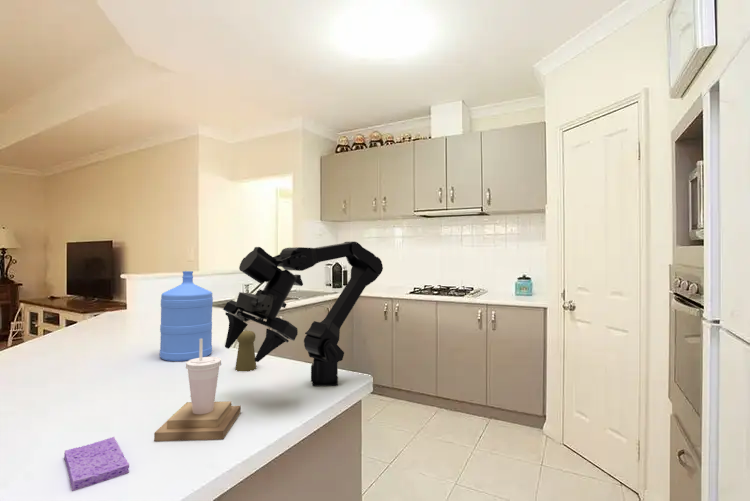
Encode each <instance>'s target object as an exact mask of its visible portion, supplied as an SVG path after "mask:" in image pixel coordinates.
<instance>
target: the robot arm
mask: <svg viewBox="0 0 750 501" xmlns="http://www.w3.org/2000/svg"><path fill="white" fill-rule="evenodd" d="M342 258H345V259H346V261H347V263H348V264H349V265H350V267H351V268H350V278H349V281H348V282H347V284H346V285H345V287H344V288H343V290H342V291H341V292H340V294H339V296H338V297H337V299H336V301H334V303H333V305H332V307H331V308H330V310H329V311H328V313H327V314H326V316H325V317H324V319H323V320H321V321H315V320H314V321H313V322H312V323H311V325H310V327H309V328H308V330H307V331H306V332H305V333H304V335H305V336H304V338H303V344H304V349H305V350H306V351H307V353H308V356H309V358H312V359H313V361H312V364H311V366H310V382H312V383H311V384H312V386H313V387H329V386H330V387H334V386H339V376H338V373H339V372H338V367H339V366H338V365H339V364H338V363H339V362H342V361H343V359H344V356H345V351H344V350H343V349H342V348H341V347H340V346H339V345H338V343H339V341H340V337H341V336H340V334H341V328H342V326H343V324H344V322H345V321H346V319H347V318H348V317H349V314H350V313H351V311H352V310H353V308H354V306H356V303H357V301H358V299H359V298H360V297H361V295H362V293H363V291H364V290H365V289H366V287H367V286H369V285H370V284H372V283H373V282H375V281H376V280H377V279H378V277H379V276H380V275H381V274H382V272H383V270H384V267H383V263H382V260H381V258H379V256H376V255H375V254H374V253H373V252H372V251H369V250H368V249H366V248H364V247H363V246H362V245H361V244H360V243H359V242H357V241H344V242H341V243H336V244H335V243H334V244H330V245H324V246H319V247H318V246H317V247H298V246H297V247H295V246H294V247H284V248H283V249H281V251H280V253H279V254H277V255H274V256H272V255H270V254H269V253H268V252H266V251H265V249H264V248H262V247H261V246H255V247H254V248H253V250H251V251H250V252H249V253H248V254H247V255H246V256H245V257H243V258H242V260H241V261H240V263H239V266H238V269H239V271H240V272H242V273H243V274H245V276H246V275H247V276H248V277H249V278H251V279H252V280H254V281H256V282H257V283H259V284H263V283H265V282H266V284H265V286H264V288H263V289H261V288H260V289H258V290H257V291H256V293H249V292H241V291H240V292H239V293H238V296H237V299H236V301H235V300H229V301H227V302H226V304H225V305H224V307H223V309H222V310H223V311H224V312H225V316H226V317H227V319H228V329H227V334H226V340H225V344H224V347H225V349H228V350H229V349H230V348H231V347H232V346H233V345H234V343H235V342H236V341H237V338H238V337H239V336H240V334H241V333H242V332H243V331H245V329H246V328H247V326H248V325H249V324H248V323H246V322H249V321H252V322H254V323H256V324H260V325H262V326H265V327H267V328H266V330H265V331H266V333H265V338H264V340H263V342H262V343H261V345H260V347H259V349H258V351H257V353H256V354H255V361H256V363H259V362H260V361H261V360H262V359H264V358H265V357H267V356H268V355H269V354H270V353H271V352H273V351H274V350H275V349H276V348H278V347H279V346H281V345H282V344H284V343H289V340H291V341H293V342H294V341H295V340H296V338H297V336H298V335H299V334H298V332H299V331H298V327H296V326H295V325H294V324H292V323H291V322H290V321H288V320H285V319H283V318H281V317H278V315H279V312H280V311H281V309H282V308H283V309H286V307H287V305H288V303H286V302H285V301H286V300H287V298H288V296H289V295H290V292H291V290H292V289H293V287H294V286H299V287H302V286H303V285H304V283H303V280H302V277H301V274H294V273H292V272H291V271H295V272H297V271H299V272H300V271H301V272H302V271H305V270H308V269H310V268H313V267H314V266H316V265H317V264H319V263H321V262H326V261H327V262H328V261H331V260H337V259H342ZM281 268H282V269H283V270H282V269H281Z"/></svg>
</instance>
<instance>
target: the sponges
mask: <svg viewBox="0 0 750 501" xmlns="http://www.w3.org/2000/svg"><path fill="white" fill-rule="evenodd" d="M63 457H64V460H65V465H66V468H67V472H68V476H69V482H70V486H71V487H70V488H71V491H72V492H74V491H78V490H80V489H83V488H86V487H90V486H92V485H95V484H98V483H101V482H104V481H107V480H108V481H109V480H110V479H114V478H117V477H120V476H122V475H125V474H128V473H129V472H130V470H129V469H130V463H129V462H128V459H127V458H126V457H125V455H124V452H123V451H122V449H121V447H120V445H119V443H118V442H117V439H116V438H115V436H112V437H108V438H107V439H102V440H100V441H99V440H98V441H96V442H93V443H90V444H86V445H81V446H79V447H73V448H69V449H66V450H64V455H63Z"/></svg>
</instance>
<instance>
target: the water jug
mask: <svg viewBox="0 0 750 501" xmlns="http://www.w3.org/2000/svg"><path fill="white" fill-rule="evenodd" d="M193 273H194V271H191V270H188V271H187V270H185V271H182V277H181V278H182V282H181V284H179V285H177V286H175V287H172V288H170V289H168V290H166V291H164V292H161V293H162V294H161V298H160V325H159V326H160V327H159V332H160V343H159V344H160V349H159V358H160V359H162V360H164V361H168V362H169V361H170V362H187V361H189V360H191V359H195V358H199V344H200V339H203V351H202V357H209V356H210V355H211V353H213V352H212V351H213V345H212V344H213V343H212V342H213V341H212V337H213V335H212V334H213V332H212V330H213V321H212V320H213V318H212V317H213V302H214V298H213V292H212V291H211V290H208V289H206V288H204V287H202V286H199V285H197V284H195V283H194V281H193V280H194V275H193Z"/></svg>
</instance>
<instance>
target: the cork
mask: <svg viewBox="0 0 750 501" xmlns="http://www.w3.org/2000/svg"><path fill="white" fill-rule="evenodd" d="M236 341H237V342H238V348H237V356H236V361H235V368H234V370H235V371H236V370H237V371H236V372H239V371H247V372H251V371H250V370H252V371H255V370H257V368H256V367H257V362H256V361H255V357H256V353H255V351H256V350H255V346H254V343H255V341H256V333H255V332H254V331H251V330H243V332H242V333H241V334H240V336H239V337H238V338H237V340H236ZM254 369H255V370H254Z"/></svg>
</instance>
